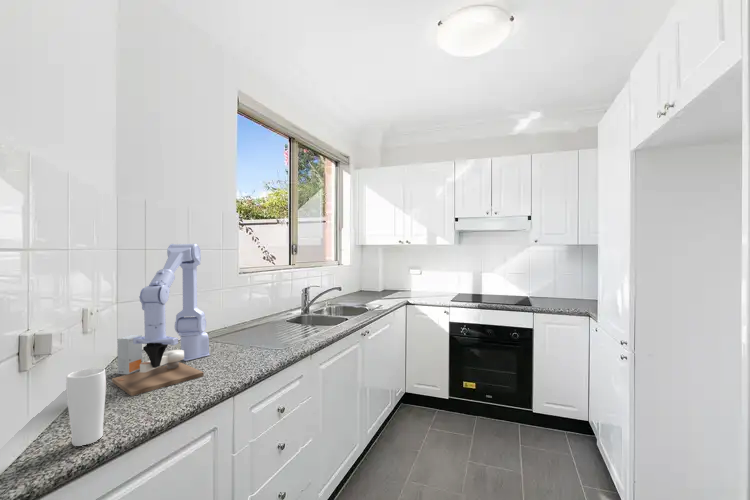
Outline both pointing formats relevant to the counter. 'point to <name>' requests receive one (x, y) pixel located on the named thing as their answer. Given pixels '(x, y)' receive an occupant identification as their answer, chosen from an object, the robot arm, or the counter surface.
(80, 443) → the white tumbler
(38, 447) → the counter surface
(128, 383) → the board
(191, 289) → the robot arm
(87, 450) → the counter surface
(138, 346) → the skincare box
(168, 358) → the white long piece
